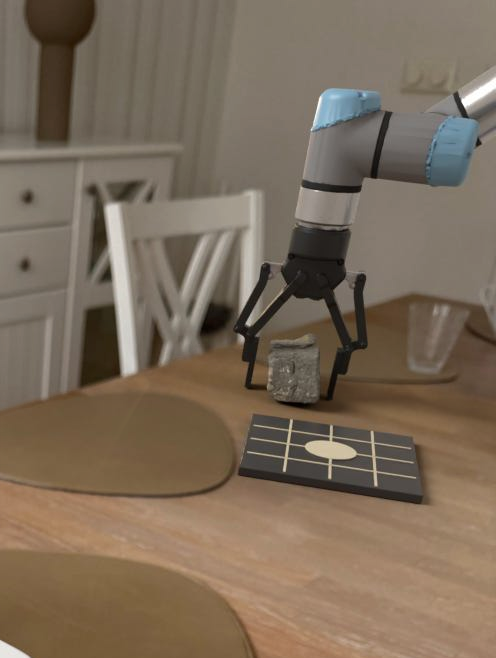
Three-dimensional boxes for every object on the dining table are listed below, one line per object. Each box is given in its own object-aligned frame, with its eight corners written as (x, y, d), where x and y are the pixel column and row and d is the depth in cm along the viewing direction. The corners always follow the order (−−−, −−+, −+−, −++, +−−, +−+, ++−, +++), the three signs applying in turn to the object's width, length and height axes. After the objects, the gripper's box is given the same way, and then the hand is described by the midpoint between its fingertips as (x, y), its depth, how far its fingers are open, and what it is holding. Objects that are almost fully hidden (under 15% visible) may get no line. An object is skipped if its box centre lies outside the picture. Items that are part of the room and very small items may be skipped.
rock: (240, 340, 144) (308, 325, 143) (244, 385, 147) (310, 370, 146) (274, 371, 129) (349, 354, 128) (278, 420, 132) (351, 404, 132)
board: (410, 444, 124) (413, 435, 123) (421, 504, 107) (423, 494, 106) (251, 420, 128) (252, 411, 127) (237, 474, 111) (239, 465, 111)
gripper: (414, 229, 128) (371, 394, 140) (236, 211, 133) (209, 372, 145) (417, 239, 122) (373, 410, 134) (231, 219, 127) (203, 386, 138)
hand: (288, 390), depth 139 cm, fingers open, 11 cm apart
